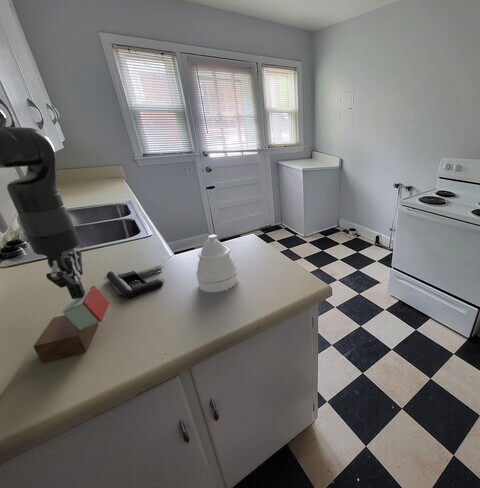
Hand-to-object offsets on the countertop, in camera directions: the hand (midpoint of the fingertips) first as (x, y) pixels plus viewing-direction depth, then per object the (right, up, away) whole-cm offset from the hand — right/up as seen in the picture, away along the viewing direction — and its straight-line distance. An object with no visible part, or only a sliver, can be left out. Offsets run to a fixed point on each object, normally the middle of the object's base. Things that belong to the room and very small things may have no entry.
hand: (79, 296), depth 64 cm
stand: (-4, -12, +3) cm, 13 cm away
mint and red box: (-1, -4, +1) cm, 4 cm away
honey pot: (+22, -1, +30) cm, 37 cm away
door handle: (-6, -1, +30) cm, 31 cm away
